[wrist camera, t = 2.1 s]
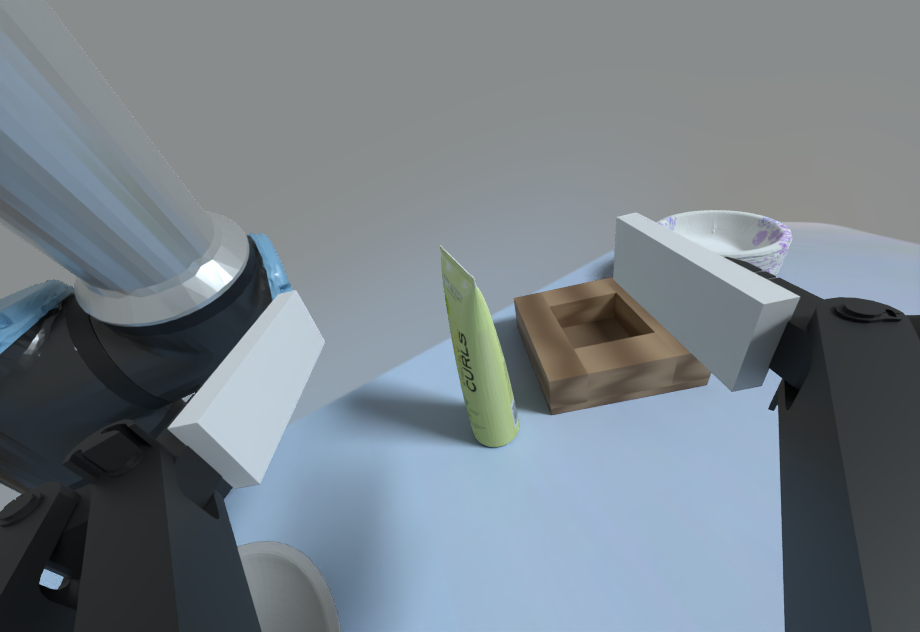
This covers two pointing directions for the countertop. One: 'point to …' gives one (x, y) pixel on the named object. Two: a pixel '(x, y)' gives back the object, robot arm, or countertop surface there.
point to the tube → (478, 358)
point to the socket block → (600, 347)
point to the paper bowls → (735, 235)
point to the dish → (287, 589)
